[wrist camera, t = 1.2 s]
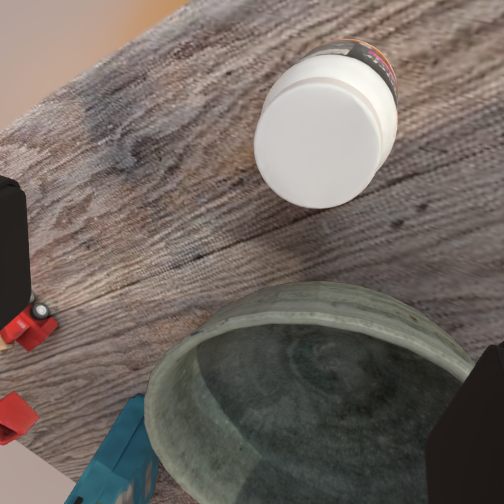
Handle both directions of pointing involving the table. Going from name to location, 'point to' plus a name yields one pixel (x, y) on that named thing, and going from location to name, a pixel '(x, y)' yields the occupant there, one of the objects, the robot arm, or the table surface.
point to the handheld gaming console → (121, 463)
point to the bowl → (304, 398)
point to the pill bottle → (328, 124)
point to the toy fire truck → (29, 336)
